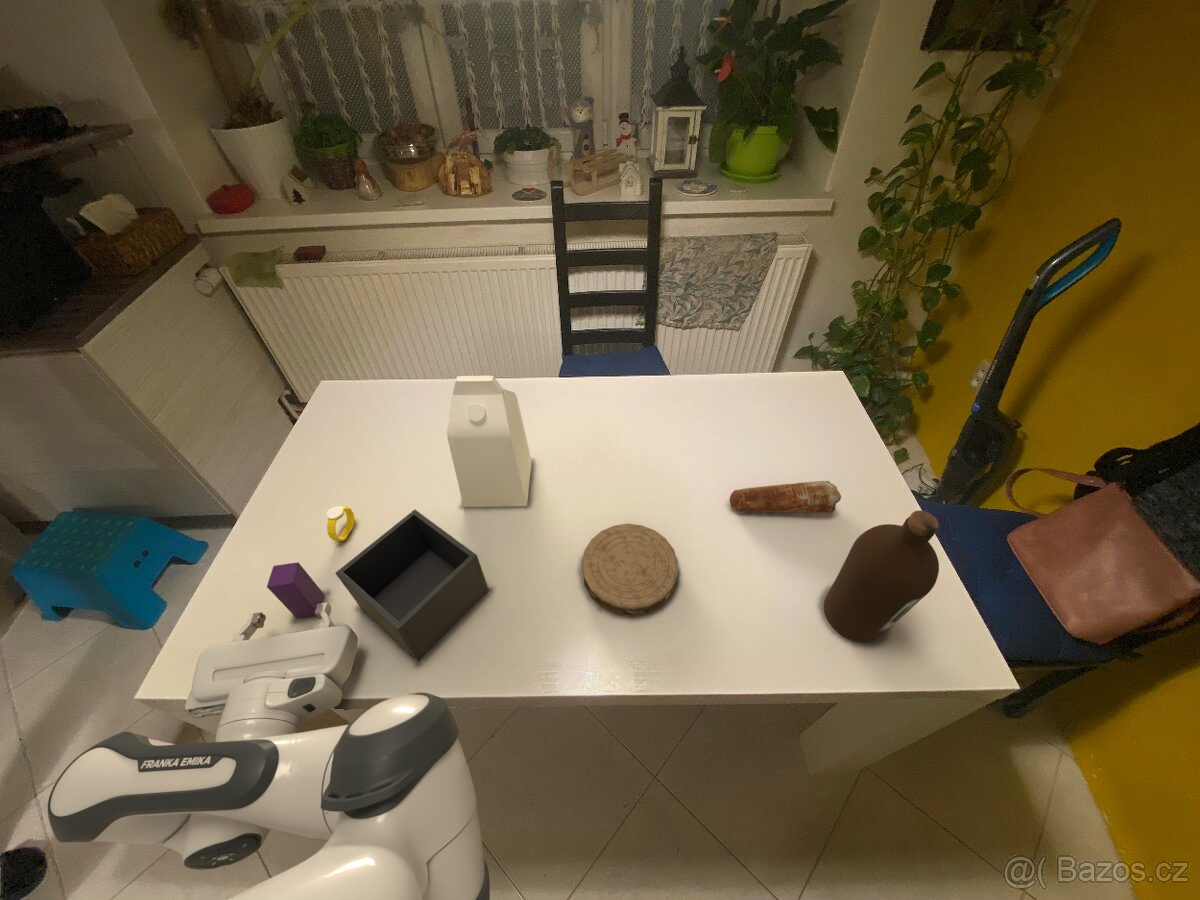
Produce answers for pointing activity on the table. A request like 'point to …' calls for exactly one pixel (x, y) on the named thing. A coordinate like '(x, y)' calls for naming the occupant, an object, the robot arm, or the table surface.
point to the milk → (488, 444)
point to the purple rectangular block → (295, 589)
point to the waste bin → (415, 582)
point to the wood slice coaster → (629, 569)
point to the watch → (334, 515)
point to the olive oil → (883, 578)
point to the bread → (787, 498)
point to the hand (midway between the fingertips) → (291, 609)
